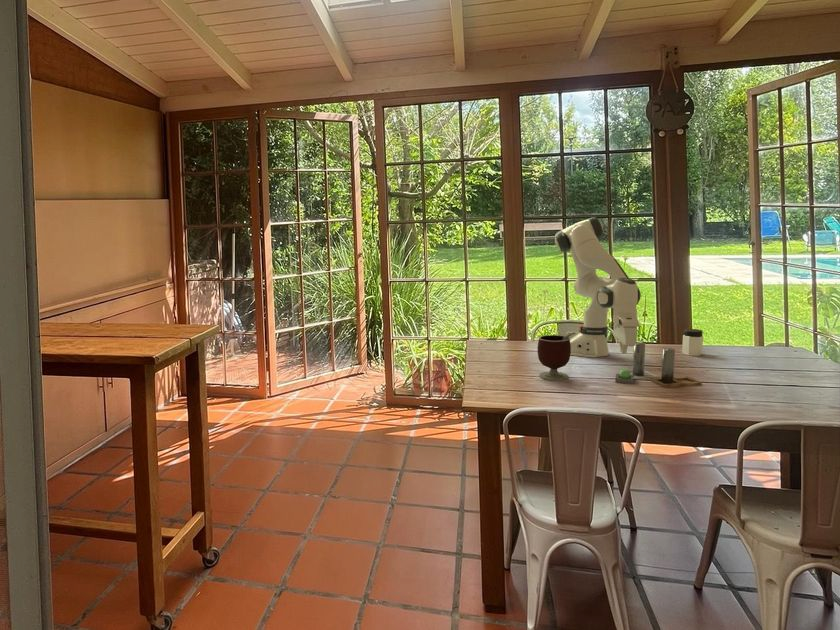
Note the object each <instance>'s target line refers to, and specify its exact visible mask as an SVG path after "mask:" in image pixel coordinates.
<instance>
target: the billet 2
mask: <svg viewBox="0 0 840 630" xmlns="http://www.w3.org/2000/svg"><path fill="white" fill-rule="evenodd" d="M661 353H662V356H661V357H662V358H661V375H660V376H661V377H660V378H661V382H662V383H664V384H670V383H673V379H674V377H675V375H674V374H675V359H676V358H675V355H676V349H675V348H671V347H670V348H669V347H664V348H662V352H661Z"/></svg>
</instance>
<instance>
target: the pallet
mask: <svg viewBox="0 0 840 630" xmlns="http://www.w3.org/2000/svg"><path fill="white" fill-rule="evenodd" d="M650 382H651V383H653V384H656V385H657V386H660V387H661V388H665V389H666V388H681V387H692V386H693V387H695V386H697V387H698V386H703V382H702V381H699V380H697V379H694V378H692V377H690V376H688V375H687V376H678V377H677V376H676V377H675V376H674V379H673V383H670V384H664V383H662V382H661V377H660V378H659V377H655V378H650Z"/></svg>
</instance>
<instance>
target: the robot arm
mask: <svg viewBox="0 0 840 630" xmlns="http://www.w3.org/2000/svg"><path fill="white" fill-rule="evenodd" d="M603 235H604V226H603V223H602V222H601V220H600V219H598V218H597V217H594V216H593V217H589V218H587V219H584V220H581V221H578V222H575V223H574V224H572V225H570V226H568V227H565V228H563V229H560V230H559V231H557V232H556V233H555V235H554V244H555V245H556V249H558V250H559V251H560V252H561V253H568V252H570V254H571V258H572V260H573V263H574V266H575V269H576V274H577V277H576V280H575V281H574V283H573V290H574V292H575V294H576V295H579V296H581V297H583V298H589V299H591V301H590V304H589V306H588V307H586V308H585V309H584V311H583V324H580V325H579V327H578V328H579V329H578V330H579V331H578V333H577V334H575V335H574V336H573V337H571V338H570V345H571V354H570V356H574V357H585V358H598V357H599V358H601V357H606V356H609V355H610V349H609V347H608V346H609V345H608V336H609V334H608V333H609V331H608V330H609V329H608V312H609V309H613V310H612V311H613V315H612V318H613V319H612V324H613V330H612V331H613V333H612V334H613V338H615V339H616V340H617V341H619V342H618V343H619V347H620V348H619V350H620V351H619V352H621V353H622V354H627V352H628V351H627V350H628V347H634V346H635V345H636V343H637V341H638V340H637V338H638V328H639V327H640V321H639V319H638V309H637V305H638V304H639V303H640V301H641V297H642V296H641V295H642V293H641V291H640V288H639V287H638V284H637V281H636V280H634V279H632V278H630V277H629V275H627V273H626V272H625V270H624V268H623V267H622V266H621V264H620V263H619V261H618V260H617V259H616V257H615V256H613V255H612V254H610V253H609V252H608V251H607V250H606V249H605V248H604V247H603V245H602V244H601V242H600V240H599V239H601V238H602V236H603ZM597 270H599V271H602V272H605V274H607V275H608V276H609V277H603V276H599V275H597Z"/></svg>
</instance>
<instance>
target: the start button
mask: <svg viewBox="0 0 840 630" xmlns="http://www.w3.org/2000/svg"><path fill="white" fill-rule="evenodd" d="M619 374H620V378H630V375H631V372H630V369H625V368H624V369H623V368H621V369H619Z"/></svg>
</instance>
